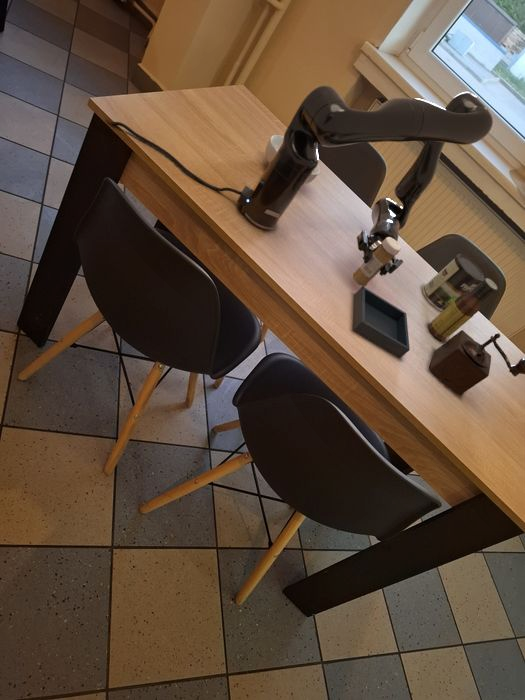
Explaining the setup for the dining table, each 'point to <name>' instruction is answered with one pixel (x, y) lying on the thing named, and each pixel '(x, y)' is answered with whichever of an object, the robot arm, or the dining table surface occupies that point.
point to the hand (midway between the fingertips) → (375, 266)
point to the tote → (380, 322)
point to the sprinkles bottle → (377, 261)
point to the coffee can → (452, 282)
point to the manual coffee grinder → (467, 362)
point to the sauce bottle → (461, 310)
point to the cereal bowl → (274, 147)
